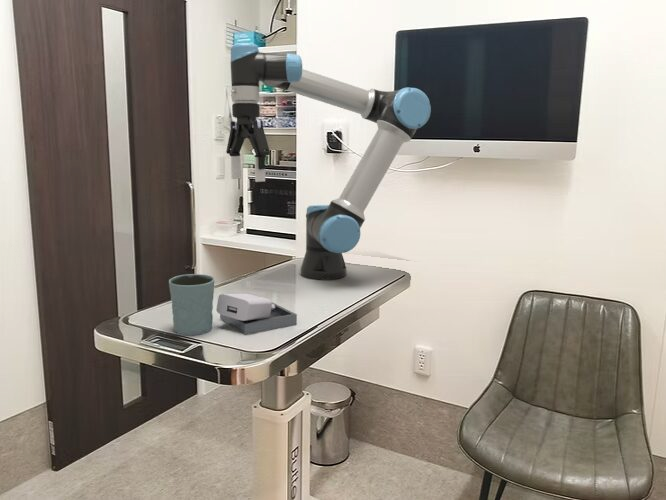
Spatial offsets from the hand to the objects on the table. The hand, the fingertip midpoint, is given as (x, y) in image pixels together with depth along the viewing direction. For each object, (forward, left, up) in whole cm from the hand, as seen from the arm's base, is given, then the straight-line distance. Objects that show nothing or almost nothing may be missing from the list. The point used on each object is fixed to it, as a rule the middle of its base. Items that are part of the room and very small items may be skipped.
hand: (247, 180), depth 157 cm
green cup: (+27, +25, -32) cm, 49 cm away
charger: (+14, +28, -31) cm, 43 cm away
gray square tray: (+12, +28, -32) cm, 44 cm away
